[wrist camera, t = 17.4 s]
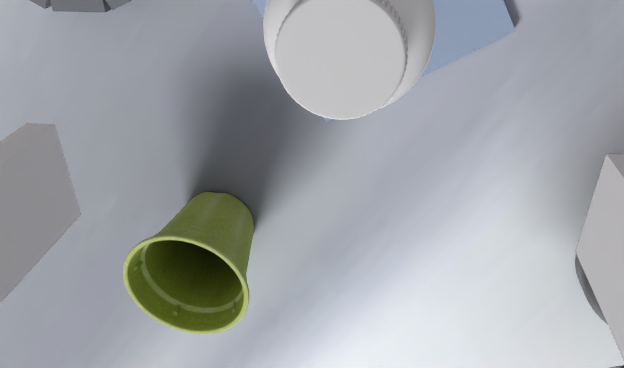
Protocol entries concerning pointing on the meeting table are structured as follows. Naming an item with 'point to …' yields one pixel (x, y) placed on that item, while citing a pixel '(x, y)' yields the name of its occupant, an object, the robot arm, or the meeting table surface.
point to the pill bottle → (348, 51)
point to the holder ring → (81, 5)
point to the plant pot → (195, 266)
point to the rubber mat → (458, 28)
